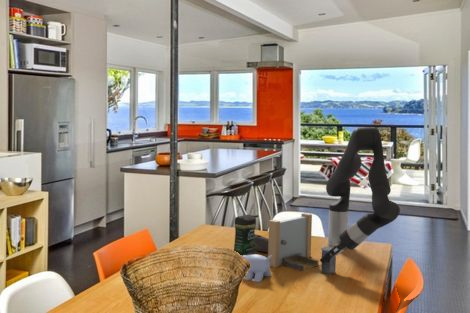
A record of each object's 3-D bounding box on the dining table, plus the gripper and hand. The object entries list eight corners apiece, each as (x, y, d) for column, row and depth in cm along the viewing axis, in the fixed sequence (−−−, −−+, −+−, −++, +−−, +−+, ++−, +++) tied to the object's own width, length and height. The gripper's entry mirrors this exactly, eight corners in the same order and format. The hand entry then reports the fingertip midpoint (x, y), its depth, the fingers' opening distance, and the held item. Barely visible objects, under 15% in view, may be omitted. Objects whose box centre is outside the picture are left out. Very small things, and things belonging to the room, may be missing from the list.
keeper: (299, 259, 201) (300, 252, 201) (318, 265, 194) (318, 258, 194) (282, 265, 194) (282, 258, 193) (301, 271, 186) (301, 263, 186)
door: (303, 254, 209) (304, 213, 208) (311, 256, 206) (313, 214, 204) (268, 264, 193) (269, 220, 192) (276, 267, 190) (277, 222, 188)
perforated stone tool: (279, 254, 209) (279, 239, 209) (271, 256, 206) (271, 241, 205) (255, 247, 220) (256, 232, 220) (247, 249, 217) (248, 234, 216)
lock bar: (327, 269, 188) (327, 245, 188) (336, 272, 185) (336, 248, 184) (320, 272, 185) (321, 247, 185) (329, 274, 182) (330, 250, 181)
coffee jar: (244, 260, 199) (244, 218, 197) (230, 256, 204) (231, 215, 202) (258, 256, 206) (259, 215, 204) (245, 252, 211) (245, 212, 209)
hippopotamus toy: (244, 268, 188) (245, 246, 187) (277, 276, 180) (277, 252, 179) (230, 276, 179) (230, 252, 178) (264, 284, 171) (264, 259, 170)
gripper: (353, 224, 186) (325, 248, 193) (342, 231, 174) (312, 256, 181) (366, 239, 183) (337, 262, 191) (355, 247, 171) (324, 272, 178)
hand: (324, 259), depth 186 cm, fingers open, 7 cm apart
